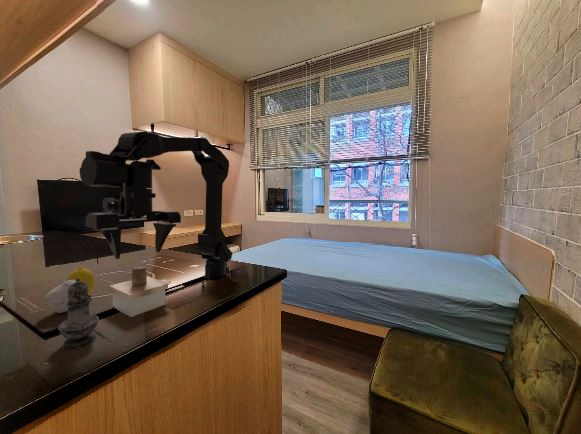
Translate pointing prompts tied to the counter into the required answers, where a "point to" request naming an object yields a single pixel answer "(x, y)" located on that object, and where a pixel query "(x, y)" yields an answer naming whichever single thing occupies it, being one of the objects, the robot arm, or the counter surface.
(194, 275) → the counter surface
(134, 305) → the dish
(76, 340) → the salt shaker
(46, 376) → the counter surface
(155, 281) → the lid
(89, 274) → the lemon
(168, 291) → the mat
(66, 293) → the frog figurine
